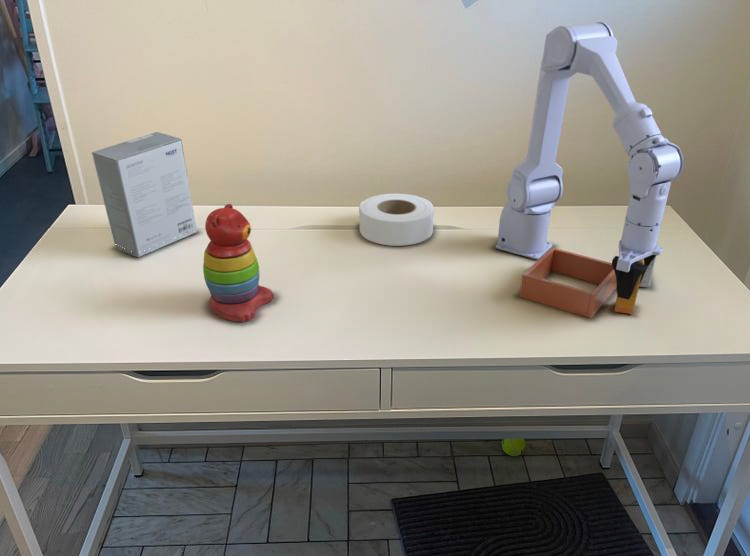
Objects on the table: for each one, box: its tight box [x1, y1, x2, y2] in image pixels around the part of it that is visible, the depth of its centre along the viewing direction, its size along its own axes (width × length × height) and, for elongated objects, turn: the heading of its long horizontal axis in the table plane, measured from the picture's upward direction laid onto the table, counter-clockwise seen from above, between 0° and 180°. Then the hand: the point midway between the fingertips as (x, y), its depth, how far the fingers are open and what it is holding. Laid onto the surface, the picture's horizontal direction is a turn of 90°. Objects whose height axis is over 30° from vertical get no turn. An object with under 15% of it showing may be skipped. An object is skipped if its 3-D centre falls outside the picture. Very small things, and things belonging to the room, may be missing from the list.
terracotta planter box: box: [519, 246, 617, 319], centre depth 131 cm, size 14×14×4 cm
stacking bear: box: [202, 203, 275, 323], centre depth 121 cm, size 11×10×18 cm
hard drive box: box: [91, 131, 198, 258], centre depth 142 cm, size 16×8×20 cm, turn 144°
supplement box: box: [614, 258, 644, 315], centre depth 124 cm, size 3×3×10 cm
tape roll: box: [358, 193, 435, 247], centre depth 151 cm, size 16×16×6 cm
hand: (627, 292), depth 125 cm, fingers closed on supplement box, 4 cm apart
